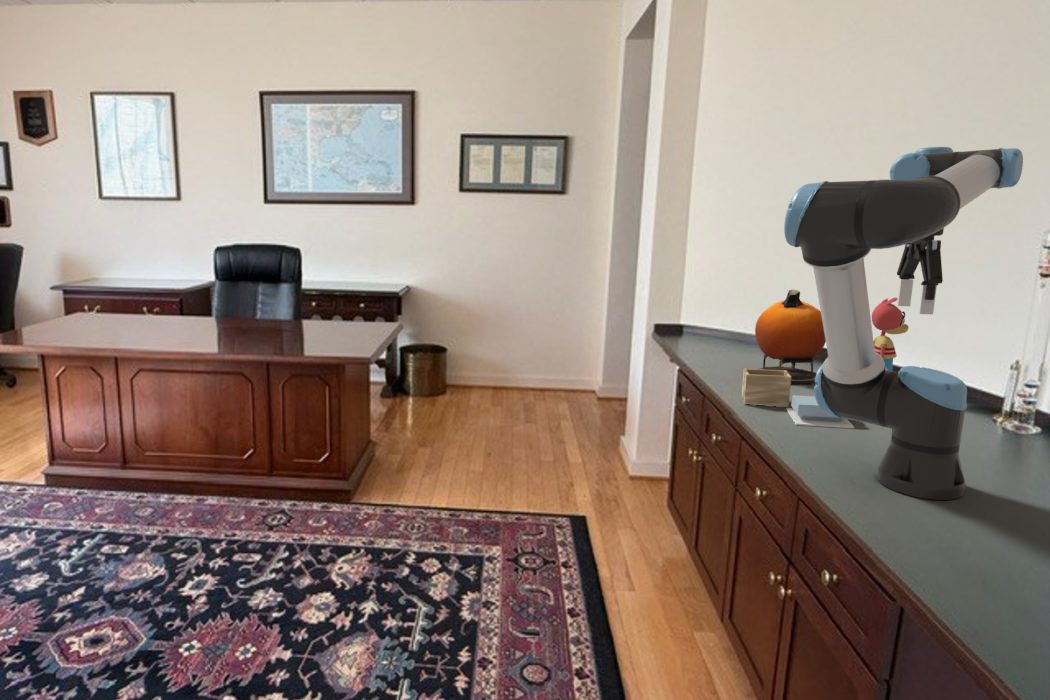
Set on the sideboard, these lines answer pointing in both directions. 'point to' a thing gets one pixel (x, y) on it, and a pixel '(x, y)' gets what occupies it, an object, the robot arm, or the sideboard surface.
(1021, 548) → the sideboard surface
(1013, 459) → the sideboard surface
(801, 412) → the lid
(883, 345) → the toy
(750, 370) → the box
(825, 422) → the pad
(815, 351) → the pumpkin
